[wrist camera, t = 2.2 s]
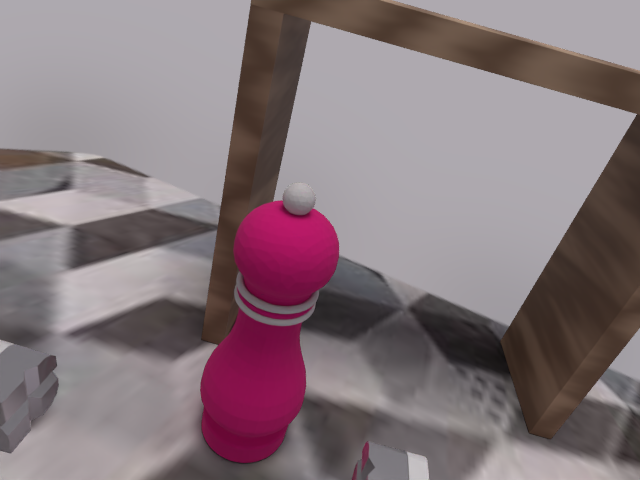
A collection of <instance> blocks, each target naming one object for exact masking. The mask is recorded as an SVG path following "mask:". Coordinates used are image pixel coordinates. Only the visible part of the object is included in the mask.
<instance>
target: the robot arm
mask: <svg viewBox="0 0 640 480" xmlns="http://www.w3.org/2000/svg"><path fill="white" fill-rule="evenodd" d="M56 366H57V362H56V356H52V355H49V354H46V353H43V352H39V351H36V350H33V349H29V348H26V347H23V346H19V345H16V344H13V343H9V342H6V341H2V340H0V451H3V452H7V453H12V452H13V451H14V449H15V448H16V447H17V446H18V445H19V443H20V442H21V441H22V440H23V439H24V437H25V436H26V435H27V434H28V433H29V432H30V430H31V421H32V420H34V419H36V418H38V417H40V416H42V415H44V413H45V412H46V411H47V410H48V408H49V407H50V406H51V404H52V402H53V400H54V398H55V396H56V394H57V390H58V385H59V384H58V378H57V376H56V375H55V374H54V373H53V370H54V369H55V368H56ZM352 480H429V471H428V461H427V459H426V457H424V456H421V455H417V454H413V453H409V452H405V451H404V450H400V449H396V448H392V447H388V446H385V445H381V444H377V443H373V442H369V441H367V442H366V443H365V446H364V448H363V451H362V459H360V460H358V462H357V464H356V467H355V469H354V473H353V477H352Z"/></svg>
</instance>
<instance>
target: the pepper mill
mask: <svg viewBox="0 0 640 480" xmlns="http://www.w3.org/2000/svg"><path fill="white" fill-rule="evenodd" d="M315 201H316V197H315V193H314V191H313V189H312V188H311V187H310V186H309V185H307V184H305V183H300V182H298V183H293V184H291V185H290V186H288V187H287V189H286V190H285V191H284V194H283V201H274V202H270V203H266V204H263V205H261V206H259V207H257V208H255V209H254V210H253V211H251V212H250V213H249V214H248V215H247V216H246V217H245V218H244V219H243V221H242V222H241V224H240V226H239V228H238V230H237V233H236V236H235V240H234V248H233V253H234V259H235V263H236V265H237V267H238V269H239V273H238V275H237V278H236V283H237V284H236V286H235V289H234V296H235V300H236V303H237V304H238V306H239V311H238V315H237V318H236V322H235V324H234V326H233V328H232V330H231V332H230V333H229V335H228V336H227V337H226V338H225V339H224V340H223V341H222V342H221V343H220V344H219V345H218V346H217V348H216V349H215V350H214V351H213V353H212V354H211V356H210V358H209V359H208V361H207V363H206V366H205V368H204V372H203V376H202V380H201V389H200V392H201V398H202V402H203V405H204V411H203V416H202V432H203V435H204V438H205V440H206V442H207V443H208V445H209V446H210V447H211V448H212V449H213V450H214V451H215V452H216V453H217V454H218V455H220V456H222V457H223V458H226V459H228V460H230V461H235V462H241V463H251V462H256V461H260V460H262V459H265V458H267V457H268V456H270V455H271V454H273V453H274V452H275V451H276V450H277V449H278V447H279V446H280V445H281V443H282V442H283V439H284V437H285V433H286V430H287V427H288V424H289V423H291V422H292V420H293V419H294V418H295V417H296V416H297V414H298V413H299V411H300V409H301V406H302V403H303V399H304V394H305V389H306V370H305V365H304V361H303V357H302V353H301V348H300V330H301V325H302V322H303V321H305V320H307V319H308V318H309V317H310V316H311V315H312V313H313V311H314V310H315V305H316V301H317V299H318V297H319V289H320V288H322V287H323V286H325V285H326V284H327V282H328V281H329V280H330V278H331V277H332V275H333V274H334V272H335V270H336V266H337V262H338V258H339V242H338V238H337V234H336V232H335V230H334V227H333V226H332V225H331V223H330V222H329V221H328V220H327V218H325V216H324V215H322V214H321V213H320V212H318V211H317V210H315V209H313V207H314V205H315Z"/></svg>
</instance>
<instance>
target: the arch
mask: <svg viewBox="0 0 640 480" xmlns="http://www.w3.org/2000/svg"><path fill="white" fill-rule="evenodd" d="M311 21H312V22H316V23H319V24H323V25H326V26H330V27H333V28H337V29H341V30H344V31H347V32H351V33H354V34H358V35H361V36H365V37H368V38H372V39H375V40H379V41H383V42H386V43H389V44H393V45H396V46H400V47H403V48H407V49H410V50H414V51H417V52H421V53H425V54H428V55H432V56H435V57H439V58H442V59H446V60H449V61H453V62H456V63H460V64H463V65H467V66H471V67H474V68H477V69H481V70H484V71H488V72H491V73H495V74H499V75H502V76H505V77H509V78H512V79H516V80H520V81H523V82H527V83H530V84H534V85H537V86H541V87H544V88H548V89H551V90H555V91H558V92H562V93H565V94H569V95H572V96H576V97H579V98H583V99H586V100H590V101H593V102H597V103H600V104H604V105H608V106H611V107H615V108H619V109H622V110H625V111H629V112H632V113H636V114H637V115H636V117H635V119H634V120H633V122H632V124H631V125H630V127H629V129H628V130H627V132H626V134H625V135H624V137H623V139H622V140H621V142H620V143H619V145H618V147H617V149H616V150H615V152H614V153H613V155H612V157H611V158H610V160H609V162H608V164H607V165H606V167H605V169H604V170H603V172H602V173H601V175H600V177H599V179H598V180H597V182H596V183H595V185H594V187H593V188H592V190H591V192H590V194H589V195H588V197H587V198H586V200H585V202H584V203H583V205H582V207H581V208H580V210H579V212H578V213H577V215H576V217H575V218H574V220H573V222H572V223H571V225H570V227H569V229H568V230H567V232H566V233H565V235H564V237H563V238H562V240H561V242H560V243H559V245H558V246H557V248H556V250H555V251H554V253H553V255H552V256H551V258H550V260H549V262H548V263H547V265H546V266H545V268H544V270H543V272H542V273H541V275H540V276H539V278H538V280H537V282H536V283H535V285H534V286H533V288H532V290H531V291H530V293H529V295H528V296H527V298H526V300H525V301H524V303H523V305H522V306H521V308H520V310H519V311H518V313H517V315H516V316H515V318H514V320H513V321H512V323H511V325H510V326H509V328H508V330H507V331H506V333H505V335H504V336H503V338H502V340H501V341H500V342H501V345H502V348H503V351H504V355H505V358H506V361H507V364H508V367H509V371H510V374H511V377H512V380H513V383H514V387H515V390H516V393H517V396H518V399H519V402H520V406H521V409H522V412H523V415H524V418H525V422H526V425H527V428H528V431H529V433H531V434H534V435H538V436H541V437H545V438H548V439H552V437H553V436H554V435H555V434H556V432H557V431H558V430H559V429H560V427H561V426H562V425H563V424H564V422H565V421H566V420H567V419H568V417H569V416H570V415H571V413H572V412H573V411H574V410H575V408H576V407H577V406H578V405H579V403H580V402H581V401H582V400H583V398H584V397H585V396H586V395H587V393H588V392H589V391H590V390H591V388H592V387H593V386H594V385H595V383H596V382H597V381H598V380H599V378H600V377H601V376H602V375H603V373H604V372H605V371H606V370H607V368H608V367H609V366H610V364H611V363H612V362H613V361H614V359H615V358H616V357H617V356H618V355H619V353H620V352H621V351H622V349H623V348H624V347H625V346H626V344H627V343H628V342H629V341H630V339H631V338H632V337H633V336H634V334H635V333H636V332H637V331H638V329H639V328H640V71H638V70H635V69H632V68H628V67H624V66H621V65H617V64H614V63H611V62H607V61H604V60H600V59H596V58H593V57H589V56H586V55H582V54H578V53H575V52H572V51H568V50H565V49H561V48H558V47H554V46H550V45H547V44H544V43H540V42H537V41H533V40H530V39H526V38H523V37H519V36H516V35H512V34H508V33H505V32H501V31H498V30H494V29H491V28H487V27H484V26H480V25H476V24H473V23H470V22H466V21H463V20H459V19H456V18H452V17H448V16H445V15H441V14H438V13H435V12H431V11H427V10H424V9H421V8H417V7H414V6H410V5H406V4H403V3H399V2H396V1H392V0H251V6H250V13H249V19H248V27H247V33H246V40H245V46H244V53H243V60H242V67H241V74H240V80H239V87H238V94H237V101H236V108H235V114H234V121H233V129H232V135H231V141H230V148H229V155H228V162H227V169H226V176H225V182H224V189H223V197H222V203H221V209H220V216H219V223H218V230H217V236H216V243H215V250H214V257H213V264H212V270H211V277H210V284H209V291H208V298H207V304H206V311H205V318H204V325H203V331H202V338H201V340H204V341H208V342H211V343H215V344H218V345H219V344H220V343H221V342H222V341H223V340H224V339H225V338H226V337H227V336H228V335H229V332H230V330H231V328H232V326H233V324H234V322H235V320H236V318H237V315H238V311H239V306H238V304H237V303H236V300H235V296H234V289H235V286H236V284H237V283H236V278H237V275H238V273H239V269H238V267H237V265H236V263H235V259H234V253H233V248H234V240H235V236H236V233H237V230H238V228H239V226H240V224H241V222H242V221H243V219H244V218H245V217H246V216H247V215H248V214H249V213H250V212H251V211H253V210H254V209H255V208H257V207H259V206H261V205H263V204H266V203H270V202H273V199H274V194H275V190H276V185H277V180H278V175H279V171H280V166H281V161H282V156H283V152H284V147H285V142H286V138H287V133H288V128H289V123H290V119H291V114H292V109H293V105H294V100H295V95H296V90H297V85H298V81H299V76H300V72H301V67H302V62H303V57H304V53H305V48H306V42H307V38H308V34H309V29H310V24H311Z"/></svg>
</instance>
